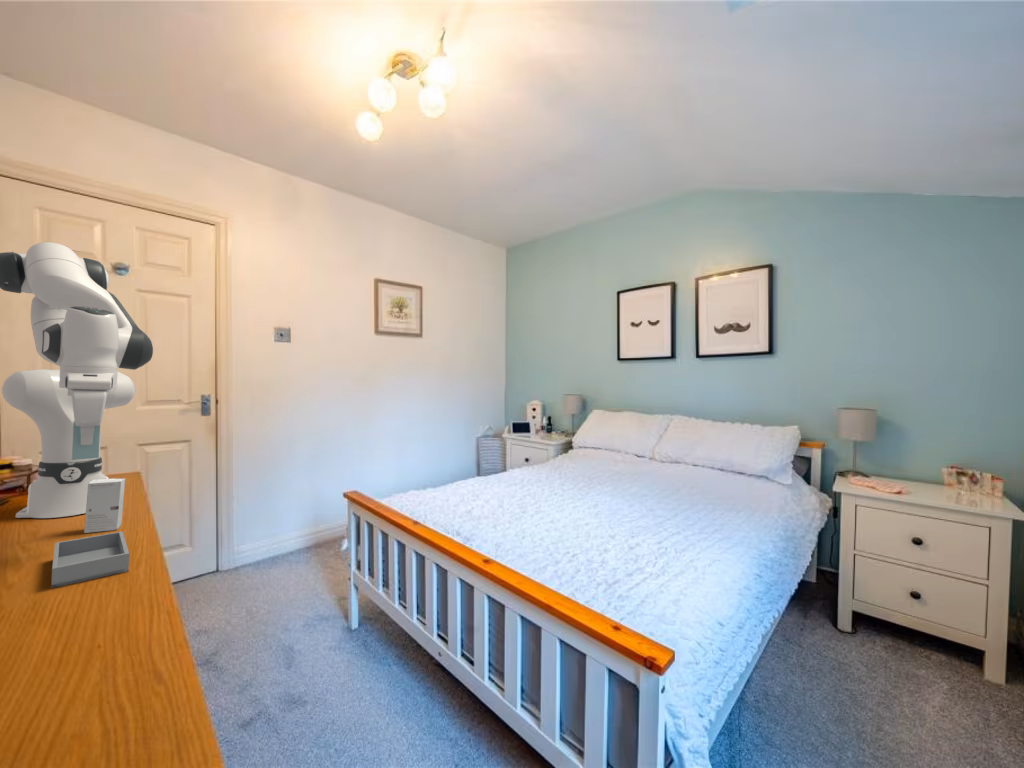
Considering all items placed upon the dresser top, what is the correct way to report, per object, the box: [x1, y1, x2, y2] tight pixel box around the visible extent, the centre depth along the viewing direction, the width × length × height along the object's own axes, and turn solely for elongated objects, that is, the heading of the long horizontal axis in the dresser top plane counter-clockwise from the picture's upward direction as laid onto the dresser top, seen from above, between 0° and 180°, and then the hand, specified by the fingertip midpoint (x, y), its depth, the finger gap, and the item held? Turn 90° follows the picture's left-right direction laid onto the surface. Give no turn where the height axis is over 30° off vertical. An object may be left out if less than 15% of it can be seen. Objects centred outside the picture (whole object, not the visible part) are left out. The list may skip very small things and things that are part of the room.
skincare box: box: [83, 477, 126, 534], centre depth 100 cm, size 6×4×12 cm
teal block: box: [72, 421, 101, 460], centre depth 89 cm, size 4×4×8 cm
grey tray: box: [50, 530, 130, 589], centre depth 81 cm, size 16×10×4 cm, turn 47°
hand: (86, 443), depth 89 cm, fingers closed on teal block, 4 cm apart
